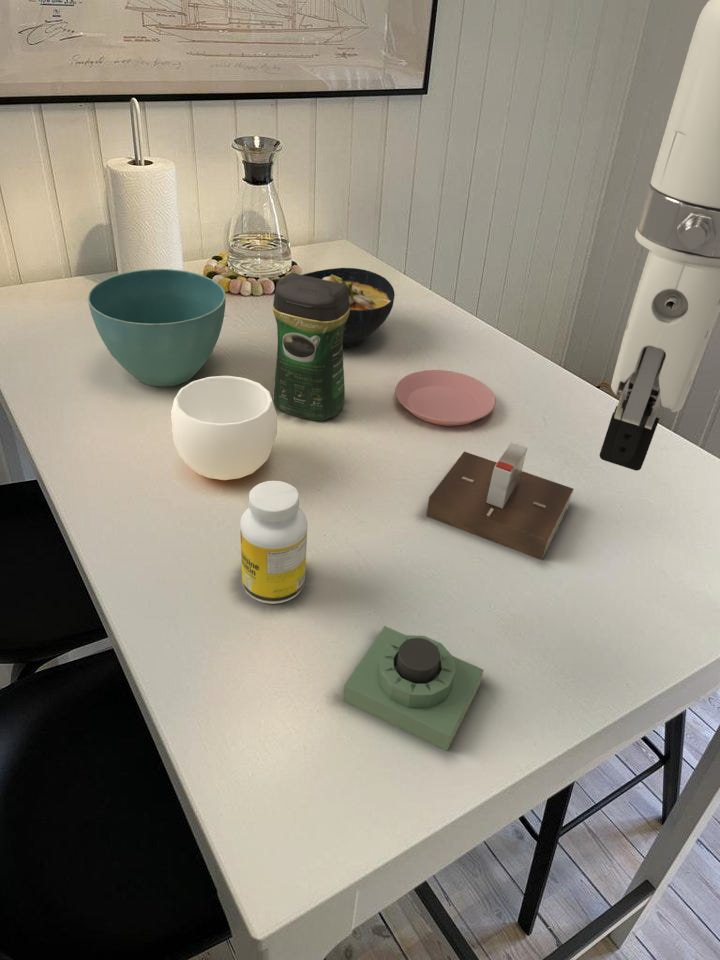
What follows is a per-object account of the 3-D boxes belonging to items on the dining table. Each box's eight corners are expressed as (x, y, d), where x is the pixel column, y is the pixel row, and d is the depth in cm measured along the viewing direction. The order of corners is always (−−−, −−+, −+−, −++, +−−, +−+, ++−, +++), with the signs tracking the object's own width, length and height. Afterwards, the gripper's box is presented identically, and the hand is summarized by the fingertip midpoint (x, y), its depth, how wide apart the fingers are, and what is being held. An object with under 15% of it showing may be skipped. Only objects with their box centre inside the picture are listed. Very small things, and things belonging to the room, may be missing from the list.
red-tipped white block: (503, 476, 90) (511, 440, 87) (519, 482, 89) (528, 445, 86) (485, 502, 86) (494, 465, 83) (502, 508, 85) (511, 471, 82)
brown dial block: (567, 508, 91) (574, 487, 89) (541, 560, 83) (547, 539, 81) (460, 470, 96) (464, 450, 94) (425, 517, 88) (429, 495, 86)
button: (444, 661, 66) (446, 648, 65) (427, 690, 63) (430, 677, 62) (407, 644, 67) (409, 631, 66) (389, 672, 65) (391, 659, 64)
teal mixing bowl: (245, 392, 107) (244, 312, 100) (115, 415, 100) (103, 331, 93) (206, 337, 120) (202, 263, 113) (88, 355, 113) (76, 276, 105)
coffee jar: (350, 401, 107) (360, 276, 96) (329, 428, 101) (336, 298, 90) (289, 385, 110) (291, 261, 99) (264, 410, 104) (264, 282, 93)
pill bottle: (246, 560, 80) (243, 472, 73) (307, 563, 80) (310, 476, 73) (237, 605, 74) (234, 515, 68) (303, 608, 75) (306, 519, 68)
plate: (472, 444, 101) (475, 432, 99) (377, 413, 105) (378, 401, 104) (506, 399, 111) (508, 387, 110) (417, 372, 116) (419, 360, 115)
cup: (192, 507, 86) (187, 437, 80) (163, 450, 95) (156, 382, 89) (292, 483, 91) (293, 415, 85) (255, 431, 100) (255, 366, 94)
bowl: (408, 336, 126) (415, 278, 120) (351, 374, 114) (355, 312, 108) (326, 307, 133) (328, 251, 127) (263, 340, 121) (263, 280, 115)
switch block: (480, 685, 69) (487, 656, 66) (446, 752, 63) (453, 723, 61) (382, 641, 72) (386, 612, 70) (342, 701, 66) (344, 671, 64)
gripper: (755, 273, 41) (652, 530, 52) (773, 207, 52) (685, 431, 63) (617, 242, 43) (547, 493, 54) (661, 185, 54) (595, 404, 65)
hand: (621, 459), depth 58 cm, fingers closed
